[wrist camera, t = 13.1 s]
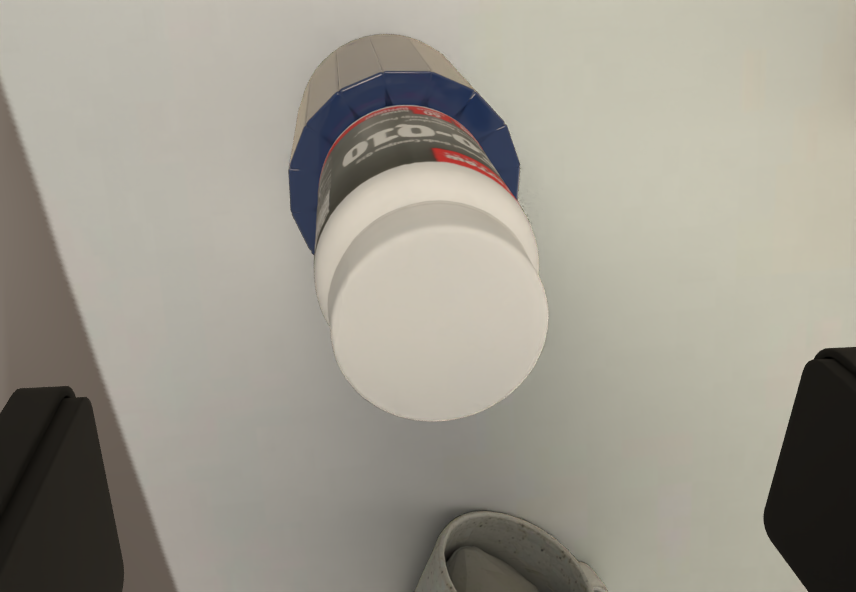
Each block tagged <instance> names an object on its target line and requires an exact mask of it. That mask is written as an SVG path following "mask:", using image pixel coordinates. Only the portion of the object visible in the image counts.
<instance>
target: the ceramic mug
mask: <svg viewBox="0 0 856 592" xmlns="http://www.w3.org/2000/svg"><path fill="white" fill-rule="evenodd" d="M415 592H608V590H607V588H606V586H605V585H604V583H603V582H602V581H601V580H600V579H599V577H598V576H597V574H596V573H595V572H594V570H593V569H592V568H591V567H590V566H589V565H587V564H586V563H583V562H578V561H577V560H576V558H575V557H574V556H573V555H572V554H571V553H570V552H569V551H568V550H567V548H565V547H564V546H563V545H562V544H561V543H559V542H558V541H557V540H556V539H555V538H554V537H552V536H551V535H549V534H548V533H546V532H545V531H544V530H542V529H541V528H539V527H537V526H535V525H533V524H531V523H529V522H527V521H525V520H522V519H520V518H517V517H514V516H511V515H507V514H504V513H498V512H490V511H477V512H470V513H467V514H464V515H461V516H459V517H457V518H455V519H454V520H453V521H451V522H450V523H449V524H448V525H447V526H446V527H445V528H444V530H443V531H442V533H441V534H440V536H439V537H438V539H437V542H436V544H435V547H434V549H433V552H432V554H431V556H430V558H429V560H428V562H427V565H426V567H425V569H424V571H423V573H422V575H421V578H420V580H419V582H418V585H417V587H416V589H415Z"/></svg>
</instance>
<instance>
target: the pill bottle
mask: <svg viewBox="0 0 856 592" xmlns="http://www.w3.org/2000/svg"><path fill="white" fill-rule="evenodd" d="M314 279H315V288H316V294H317V298H318V302H319V306H320V308H321V311H322V313H323V315H324V318H325V320H326V322H327V323H328V325H329V326H330V331H331V342H332V347H333V351H334V355H335V358H336V361H337V363H338V365H339V367H340V369H341V371H342V373H343V375H344V376H345V378H346V379H347V381H348V382H349V383H350V384H351V386H352V387H353V388H354V389H355V390H356V391H357V392H358V393H359V394H360V395H361V396H362V397H363V398H364V399H366V400H367V401H369V402H370V403H372V404H373V405H374V406H376V407H378V408H380V409H382V410H384V411H386V412H388V413H391V414H393V415H396V416H399V417H403V418H407V419H411V420H418V421H431V422H433V421H448V420H454V419H459V418H463V417H467V416H470V415H473V414H476V413H479V412H481V411H483V410H485V409H488V408H490V407H491V406H493V405H495V404H496V403H498V402H500V401H501V400H503V399H504V398H506V397H507V396H508V395H509V394H510V393H512V392H513V391H514V390H515V389H516V388H517V387H518V386H519V385H520V384H521V383H522V382H523V381H524V379H525V378H526V377H527V376H528V375H529V373H530V372H531V370H532V369H533V367H534V366H535V364H536V362H537V360H538V358H539V356H540V354H541V352H542V349H543V347H544V343H545V339H546V335H547V329H548V317H549V316H548V303H547V298H546V293H545V290H544V287H543V284H542V282H541V280H540V277H539V255H538V248H537V243H536V239H535V236H534V233H533V230H532V227H531V225H530V222H529V220H528V218H527V216H526V215H525V213H524V211H523V209H522V207H521V206H520V204H519V203H518V201H517V200H516V198H515V197H514V195H513V194H512V193H511V191H510V190H509V188H508V187H507V185H506V184H505V183H504V181H503V179H502V178H501V177H500V175H499V174H498V172H497V171H496V169H495V168H494V166H493V165H492V163H491V162H490V160H489V158H488V157H487V156H486V154H485V152H484V151H483V149H482V147H481V146H480V145H479V143H478V141H477V140H476V139H475V138H474V137H473V135H472V134H471V133H470V132H469V131H468V130H467V129H466V128H465V127H464V126H463V125H462V124H460V123H459V122H458V121H456V120H455V119H453V118H452V117H450V116H448V115H446V114H444V113H442V112H440V111H437V110H434V109H431V108H427V107H423V106H416V105H396V106H389V107H385V108H381V109H378V110H376V111H373V112H371V113H368V114H367V115H365V116H363V117H361V118H359V119H358V120H356V121H355V122H354V123H352V124H351V125H350V126H349V127H348V128H346V129H345V130H344V131H343V132H342V133H341V134H340V136H339V137H338V138H337V139H336V141H335V142H334V144H333V145H332V147H331V148H330V150H329V152H328V154H327V156H326V159H325V162H324V164H323V167H322V171H321V175H320V181H319V188H318V205H317V217H316V239H315V253H314Z"/></svg>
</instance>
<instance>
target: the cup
mask: <svg viewBox="0 0 856 592" xmlns="http://www.w3.org/2000/svg"><path fill="white" fill-rule="evenodd" d="M396 105H416V106H423V107H427V108H431V109H434V110H437V111H440V112H442V113H444V114H446V115H448V116H450V117H452V118H453V119H455V120H456V121H458V122H459V123H460V124H462V125H463V126H464V127H465V128H466V129H467V130H468V131H469V132H470V133H471V134H472V135H473V137H474V138H475V139H476V140H477V141H478V143H479V145H480V146H481V147H482V149H483V151H484V152H485V154H486V156H487V157H488V158H489V160H490V162H491V163H492V165H493V166H494V168H495V169H496V171H497V172H498V174H499V175H500V177H501V178H502V179H503V181H504V183H505V184H506V185H507V187H508V188H509V190H510V191H511V193H512V194H513V195H514V197H515V198H516V200H517V201H518V190H519V177H520V167H519V166H520V162H519V159H518V157H517V154H516V151H515V148H514V145H513V142H512V139H511V136H510V133H509V130H508V127H507V125H506V124H505V123H504V121H503V120H502V118H501V117H500V116H499V115H498V114H497V113H496V112H495V111H494V110H493V109H492V108H491V106H490V105H489V104H488V103H487V102H486V101H485V100H484V99H483V98H482V97H481V96H480V94H479V93H478V92H477V91H476V90H475V89H474V88H473V87H472V86H471V85H470V84H469V83H468V81H467V80H466V79H465V78H464V77H463V76H462V75H461V74H460V73H459V72H458V71H457V69H456V68H455V67H454V66H453V65H452V64H451V63H450V62H449V61H448V60H447V59H446V58H445V56H444V55H443V54H441V53H440V52H439V51H437V50H435V49H434V48H432V47H431V46H429V45H427V44H425V43H423V42H421V41H419V40H416V39H413V38H411V37H406V36H402V35H395V34H376V35H370V36H365V37H361V38H359V39H356V40H353V41H351V42H349V43H347V44H345V45H343V46H341V47H339V48H338V49H337V50H335V51H334V52H332V53H331V54H330V55H329V56H328V57H327V58H326V59H325V60H323V61H322V63H321V64H320V65H319V66H318V68H317V69H316V70H315V72H314V73H313V75H312V76H311V78H310V80H309V82H308V84H307V86H306V88H305V91H304V94H303V97H302V101H301V104H300V107H299V110H298V115H297V121H296V127H295V133H294V139H293V145H292V151H291V157H290V163H289V170H288V173H289V190H290V208H291V212H292V216H293V218H294V220H295V222H296V224H297V226H298V228H299V230H300V232H301V234H302V236H303V238H304V240H305V242H306V244H307V246H308V248H309V250H311V253H312V254H313V255H314V253H315V239H316V217H317V205H318V188H319V181H320V175H321V171H322V167H323V164H324V162H325V159H326V156H327V154H328V152H329V150H330V148H331V147H332V145H333V144H334V142H335V141H336V139H337V138H338V137H339V136H340V134H341V133H342V132H343V131H344V130H345V129H346V128H348V127H349V126H350V125H351V124H352V123H354V122H355V121H356V120H358V119H359V118H361V117H363V116H365V115H367V114H368V113H371V112H373V111H376V110H378V109H381V108H385V107H389V106H396Z"/></svg>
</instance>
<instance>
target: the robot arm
mask: <svg viewBox="0 0 856 592" xmlns="http://www.w3.org/2000/svg"><path fill="white" fill-rule="evenodd" d="M764 525H765V530H766V532H767V535H768V537H769V538H770V540H771V542H772V543H773V544H774V546H775V547H776V548H777V550H778V551H779V553H780V554H781V555H782V557H783V558H784V559H785V561H786V562H787V563H788V565H789V566H790V567H791V569H792V570H793V571H794V573H795V574H796V576H797V577H798V578H799V580H800V581H801V582H802V584H803V585H804V586H805V588H806V589H807V590H808V592H856V347H846V348H826V349H823V350H821V351H819V353H818V354H817V355H816V356H815V358H814V360H811V361H809V362H808V363H807V364H806V365H805V367H804V370H803V373H802V376H801V380H800V384H799V387H798V391H797V394H796V398H795V402H794V405H793V409H792V412H791V416H790V420H789V423H788V427H787V430H786V434H785V438H784V441H783V445H782V448H781V452H780V456H779V459H778V463H777V466H776V470H775V474H774V477H773V481H772V484H771V488H770V492H769V495H768V499H767V502H766V506H765V510H764ZM123 581H124V567H123V560H122V554H121V549H120V544H119V539H118V534H117V529H116V525H115V519H114V514H113V509H112V504H111V499H110V494H109V489H108V484H107V479H106V474H105V470H104V464H103V459H102V454H101V449H100V444H99V439H98V434H97V429H96V424H95V419H94V414H93V409H92V405H91V402H90V400H89V399H88V398H87V397H80V398H79V397H78V398H76V397H75V394H74V392H73V390H72V389H71V388H70V387H69V386H60V387H41V388H21V389H17V390H16V391H15V392H14V393H13V394H12V396H11V397H10V399H9V400H8V402H7V404H6V405H5V407H4V408H3V410H2V412H1V413H0V592H122V588H123Z"/></svg>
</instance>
